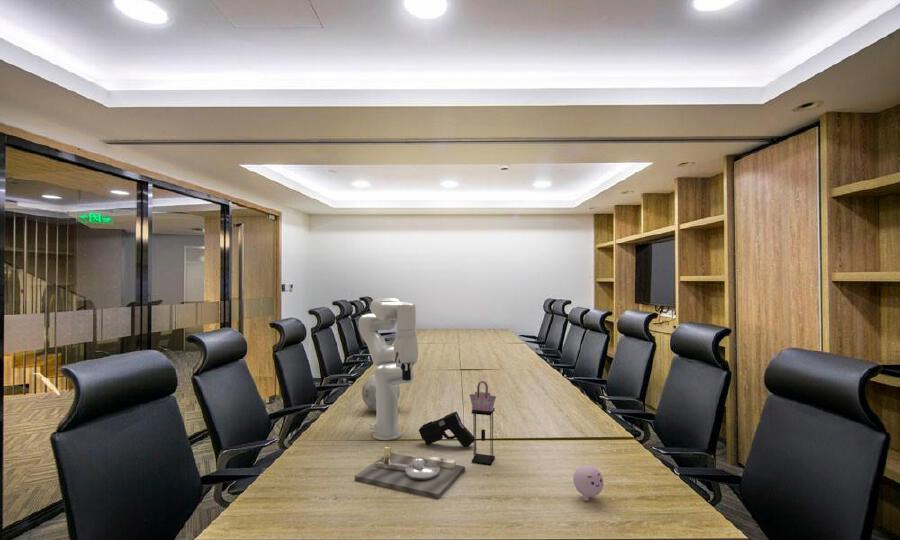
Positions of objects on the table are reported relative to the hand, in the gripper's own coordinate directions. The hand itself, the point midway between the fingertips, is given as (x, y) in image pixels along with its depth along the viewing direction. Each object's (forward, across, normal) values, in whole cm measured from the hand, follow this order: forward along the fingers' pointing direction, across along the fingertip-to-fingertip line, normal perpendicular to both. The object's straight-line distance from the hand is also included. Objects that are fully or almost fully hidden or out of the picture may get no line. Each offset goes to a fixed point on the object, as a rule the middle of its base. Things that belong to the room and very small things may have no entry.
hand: (406, 379), depth 171 cm
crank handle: (+27, +13, +14) cm, 33 cm away
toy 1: (+29, -16, +7) cm, 34 cm away
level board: (+29, +13, +15) cm, 35 cm away
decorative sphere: (+29, -32, -51) cm, 67 cm away
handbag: (+29, -14, +27) cm, 42 cm away
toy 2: (+29, -10, +70) cm, 76 cm away
